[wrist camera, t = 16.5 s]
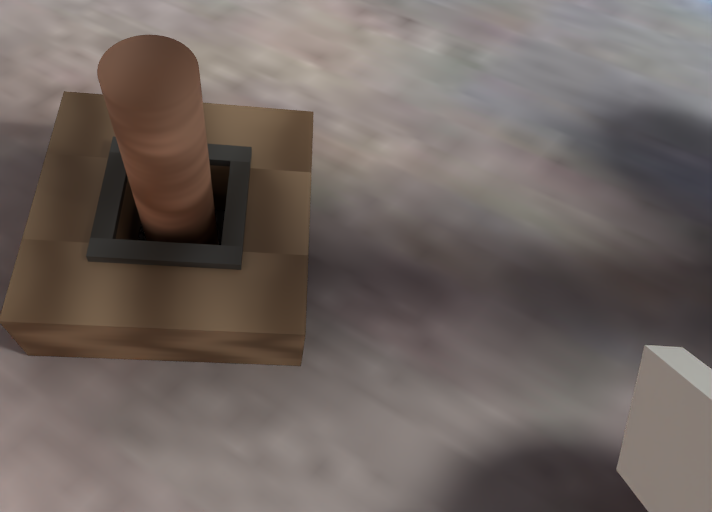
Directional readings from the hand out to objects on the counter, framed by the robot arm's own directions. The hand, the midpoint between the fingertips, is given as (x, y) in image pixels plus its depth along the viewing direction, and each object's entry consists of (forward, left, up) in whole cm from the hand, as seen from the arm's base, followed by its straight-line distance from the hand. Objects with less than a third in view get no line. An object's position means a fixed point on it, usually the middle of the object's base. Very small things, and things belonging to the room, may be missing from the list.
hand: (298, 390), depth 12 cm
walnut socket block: (+7, -18, -27) cm, 33 cm away
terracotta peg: (+7, -18, -27) cm, 33 cm away
